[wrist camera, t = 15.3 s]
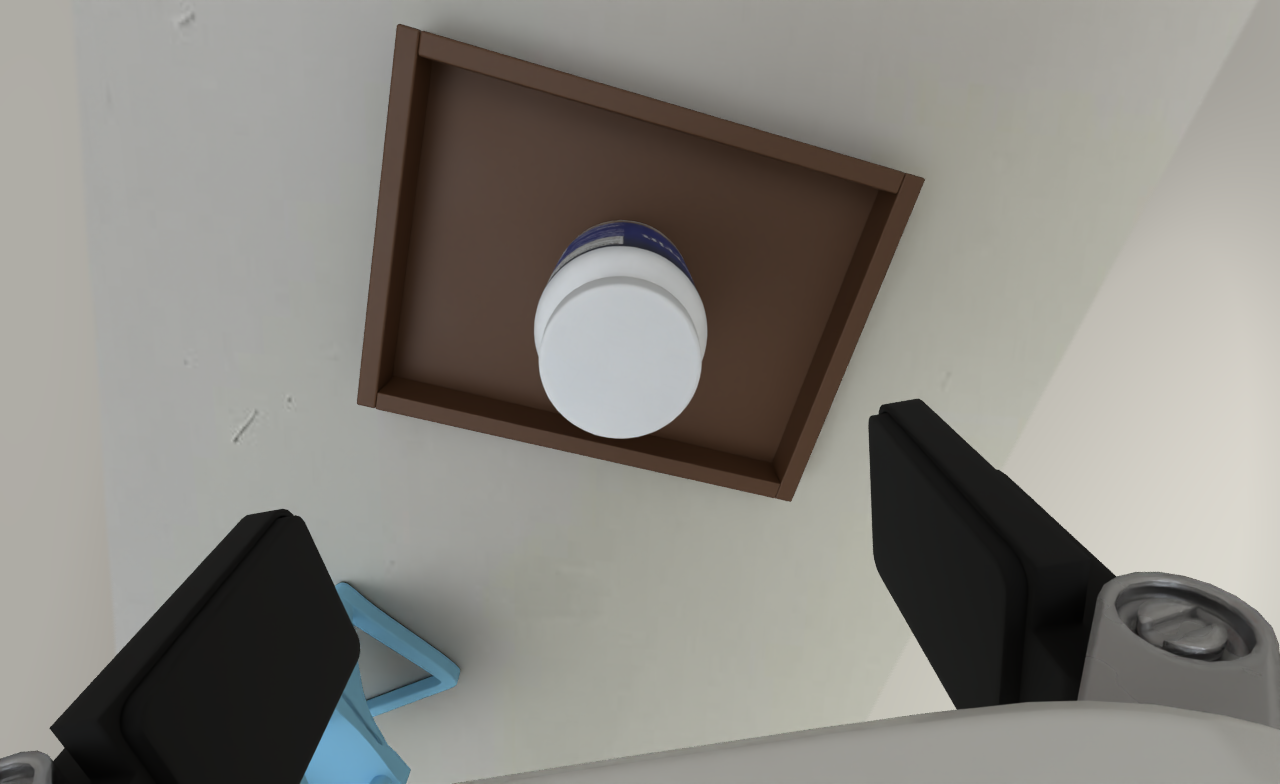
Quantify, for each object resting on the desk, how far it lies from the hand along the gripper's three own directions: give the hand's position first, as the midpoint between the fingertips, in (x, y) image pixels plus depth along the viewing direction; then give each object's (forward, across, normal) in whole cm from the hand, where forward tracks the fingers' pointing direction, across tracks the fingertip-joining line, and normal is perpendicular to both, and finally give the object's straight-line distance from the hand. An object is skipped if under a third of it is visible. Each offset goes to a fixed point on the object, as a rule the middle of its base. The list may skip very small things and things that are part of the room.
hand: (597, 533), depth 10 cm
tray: (+19, -1, +1) cm, 19 cm away
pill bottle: (+18, 0, 0) cm, 18 cm away
